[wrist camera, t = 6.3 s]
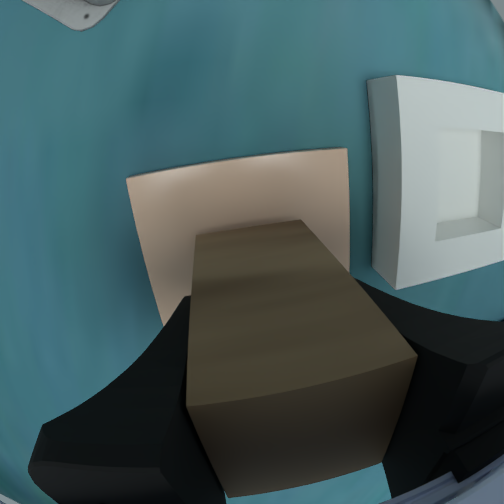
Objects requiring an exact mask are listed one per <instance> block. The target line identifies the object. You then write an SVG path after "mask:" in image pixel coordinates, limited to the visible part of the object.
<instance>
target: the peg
mask: <svg viewBox="0 0 504 504" xmlns="http://www.w3.org/2000/svg"><path fill="white" fill-rule="evenodd" d="M417 357H418V355H417V354H416V353H415V351H414V350H413V349H412V347H411V346H410V345H409V344H408V342H407V341H406V340H405V339H404V338H403V336H402V335H401V334H400V333H399V331H398V330H397V329H396V328H395V326H394V325H393V324H392V323H391V322H390V320H389V319H388V318H387V317H386V316H385V314H384V313H383V312H382V311H381V310H380V308H379V307H378V306H377V305H376V304H375V302H374V301H373V300H372V299H371V298H370V297H369V295H368V294H367V293H366V292H365V291H364V290H363V288H362V287H361V286H360V285H359V284H358V283H357V281H356V280H355V279H354V278H353V277H352V276H351V274H350V273H349V272H348V271H347V270H346V269H345V268H344V267H343V265H342V264H341V263H340V262H339V261H338V260H337V259H336V257H335V256H334V255H333V254H332V253H331V252H330V251H329V250H328V249H327V247H326V246H325V245H324V244H323V243H322V242H321V241H320V240H319V239H318V237H317V236H316V235H315V234H314V233H313V232H312V231H311V230H310V229H309V228H308V227H307V225H306V224H305V223H304V222H303V221H302V220H301V219H300V220H293V221H286V222H279V223H272V224H265V225H258V226H252V227H245V228H238V229H232V230H225V231H219V232H212V233H206V234H200V235H196V239H195V250H194V262H193V275H192V289H191V303H190V320H189V338H188V360H187V390H186V407H187V410H188V412H189V415H190V417H191V419H192V422H193V424H194V427H195V429H196V431H197V434H198V436H199V438H200V440H201V443H202V445H203V447H204V449H205V451H206V454H207V456H208V458H209V460H210V462H211V464H212V466H213V469H214V471H215V473H216V475H217V477H218V479H219V481H220V483H221V485H222V487H223V489H224V491H225V493H226V495H227V497H228V498H232V497H241V496H248V495H255V494H262V493H268V492H274V491H279V490H284V489H289V488H294V487H299V486H303V485H308V484H312V483H316V482H320V481H324V480H328V479H331V478H335V477H338V476H342V475H345V474H348V473H352V472H355V471H358V470H361V469H364V468H367V467H370V466H373V465H376V464H379V463H381V462H382V460H383V457H384V455H385V453H386V450H387V448H388V445H389V443H390V440H391V437H392V435H393V432H394V430H395V427H396V424H397V421H398V419H399V416H400V413H401V410H402V407H403V404H404V401H405V398H406V395H407V391H408V388H409V385H410V382H411V378H412V375H413V371H414V368H415V364H416V360H417Z"/></svg>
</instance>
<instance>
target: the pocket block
mask: <svg viewBox="0 0 504 504" xmlns="http://www.w3.org/2000/svg"><path fill="white" fill-rule="evenodd" d="M366 82H367V91H368V102H369V113H370V127H371V144H372V169H373V238H372V263H371V267H372V268H373V269H374V270H375V271H377V272H378V273H379V274H380V275H381V276H382V277H383V278H384V279H385V280H386V281H387V282H388V283H389V284H390V285H391V286H392V287H393V288H394V289H395V290H398V289H402V288H406V287H410V286H414V285H418V284H422V283H426V282H429V281H433V280H437V279H441V278H444V277H448V276H452V275H455V274H459V273H462V272H466V271H469V270H473V269H476V268H480V267H483V266H486V265H490V264H493V263H496V262H499V261H503V260H504V93H500V92H496V91H492V90H487V89H483V88H478V87H474V86H469V85H464V84H458V83H453V82H447V81H440V80H434V79H427V78H419V77H410V76H401V75H393V76H387V77H382V78H376V79H371V80H366Z"/></svg>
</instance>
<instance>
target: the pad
mask: <svg viewBox="0 0 504 504" xmlns="http://www.w3.org/2000/svg"><path fill="white" fill-rule="evenodd" d="M126 182H127V187H128V191H129V196H130V201H131V206H132V210H133V215H134V219H135V224H136V228H137V232H138V236H139V240H140V244H141V248H142V252H143V256H144V260H145V264H146V268H147V271H148V275H149V279H150V282H151V286H152V289H153V293H154V296H155V300H156V303H157V307H158V310H159V313H160V316H161V320H162V323H163V326H165V324H166V323H167V321H168V320H169V318H170V317H171V315H172V314H173V312H174V311H175V309H176V308H177V306H178V305H179V303H180V302H181V300H182V299H183V297H184V296H189V295H191V289H192V275H193V262H194V250H195V239H196V235H200V234H206V233H212V232H219V231H225V230H232V229H238V228H245V227H252V226H258V225H265V224H272V223H279V222H286V221H293V220H300V219H301V220H302V221H303V222H304V223H305V224H306V225H307V227H308V228H309V229H310V230H311V231H312V232H313V233H314V234H315V235H316V236H317V237H318V239H319V240H320V241H321V242H322V243H323V244H324V245H325V246H326V247H327V249H328V250H329V251H330V252H331V253H332V254H333V255H334V256H335V257H336V259H337V260H338V261H339V262H340V263H341V264H342V265H343V267H344V268H345V269H346V270H347V271H348V272H349V265H350V209H349V176H348V156H347V148H343V147H335V148H321V149H309V150H298V151H288V152H278V153H269V154H260V155H252V156H244V157H237V158H230V159H223V160H216V161H209V162H203V163H197V164H191V165H185V166H179V167H173V168H168V169H163V170H157V171H152V172H147V173H142V174H137V175H133V176H129V177H128V178H126Z"/></svg>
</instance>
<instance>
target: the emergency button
mask: <svg viewBox="0 0 504 504" xmlns="http://www.w3.org/2000/svg"><path fill="white" fill-rule="evenodd" d="M22 1H24V2H26V3H28V4H30V5H31V6H33V7H35V8H37V9H38V10H40V11H42V12H44V13H45V14H47V15H49V16H51V17H52V18H54V19H56V20H57V21H59V22H61V23H62V24H64V25H66V26H67V27H69V28H71V29H72V30H77V31H84V30H87V29H90V28H92V27H94V26H95V25H96V24H98V23H99V22H100V21H101V20H102V19H104V18H105V16H106V15H107V14H108V13H109V12H110V11H111V10H112V9H113V7H114V6H115V5H116V4H117V3H118V2H119V1H120V0H22Z"/></svg>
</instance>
